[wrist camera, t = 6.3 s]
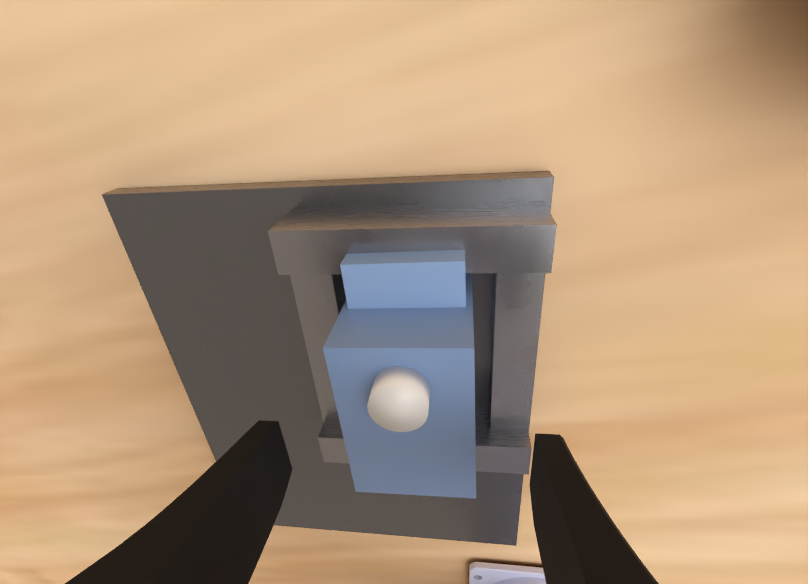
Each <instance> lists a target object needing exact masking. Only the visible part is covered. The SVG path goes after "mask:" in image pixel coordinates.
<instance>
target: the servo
mask: <svg viewBox="0 0 808 584" xmlns="http://www.w3.org/2000/svg"><path fill="white" fill-rule="evenodd" d="M340 267H341V273H342V278H343V284H344V289H345V295H346V301H345V303H344V305H343V307H342V310H341V312H340V314H339V316H338V318H337V320H336V322H335V324H334V326H333V328H332V330H331V332H330V334H329V336H328V338H327V341H326V343H325V345H324V347H323V351H324V355H325V360H326V364H327V368H328V373H329V377H330V381H331V386H332V390H333V395H334V399H335V403H336V408H337V412H338V416H339V421H340V425H341V429H342V434H343V438H344V443H345V447H346V451H347V456H348V460H349V464H350V469H351V473H352V478H353V482H354V486H355V491H356V492H369V493H387V494H404V495H422V496H440V497H457V498H475V499H476V444H475V362H474V324H473V295H472V273H465V250H439V251H410V252H380V253H350V254H346V256H345V257H344V259H343V261H342V262H341V264H340Z"/></svg>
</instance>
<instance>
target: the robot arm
mask: <svg viewBox="0 0 808 584" xmlns="http://www.w3.org/2000/svg"><path fill="white" fill-rule="evenodd" d="M291 473H292V465H291V462H290V459H289V455H288V452H287V448H286V445H285V442H284V438H283V435H282V431H281V428H280V425H279V421H263V420H259V421H258V422H257V423H256V424H254V425H253V426H252V427H251V428H250V429H249V430H248V431H247V432H246V433H245V434H244V435H243V436H242V437H241V438H240V439H239V440H238V441H237V442H236V443H235V444H234V445H233V446H232V447H231V448H230V449H229V450H228V451H227V452H226V453H225V454H224V455H223V456H222V457H221V458H220V459H219V460H217V461H216V462H215V463H214V464H213V465H212V466H211V467H210V468H209V469H208V470H207V471H206V472H205V473H204V474H203V475H202V476H201V477H200V478H199V479H197V480H196V481H195V482H194V483H193V484H192V485H191V486H190V487H189V488H188V489H187V490H185V491H184V492H183V493H182V494H181V495H180V496H179V497H177V498H176V499H175V500H174V501H173V502H172V503H171V504H170V505H168V506H167V507H166V508H165V509H164V510H163V511H162V512H160V513H159V514H158V515H157V516H156V517H154V518H153V519H152V520H151V521H150V522H148V523H147V524H146V525H145V526H143V527H142V528H141V529H140V530H138V531H137V532H136V533H134V534H133V535H132V536H131V537H129V538H128V539H127V540H125V541H124V542H123V543H122V544H120V545H119V546H118V547H116V548H115V549H114V550H112V551H111V552H109V553H108V554H107V555H105V556H104V557H102V558H101V559H99V560H98V561H97V562H95V563H94V564H92V565H91V566H89V567H88V568H87V569H85V570H84V571H82V572H81V573H80V574H78V575H77V576H75V577H74V578H72V579H71V580H70V581H68V582H67V583H65V584H248V583H249V581H250V579H251V576H252V574H253V572H254V569H255V567H256V565H257V562H258V560H259V558H260V555H261V553H262V551H263V548H264V546H265V544H266V541H267V539H268V537H269V535H270V532H271V530H272V527H273V525H274V523H275V520H276V518H277V516H278V513H279V511H280V508H281V506H282V503H283V500H284V497H285V493H286V490H287V487H288V483H289V480H290V476H291ZM530 492H531V502H532V511H533V520H534V527H535V532H536V537H537V542H538V547H539V551H540V556H541V561H542V566H543V568H541V567H530V566H519V565H508V564H497V563H486V562H472V563H471V564H470V566H469V584H658V582H657V581H656V580H655V579H654V577H653V576H652V575H651V573H650V572H649V571H648V569H647V568H646V567H645V566H644V564H643V563H642V562H641V560H640V559H639V558H638V556H637V555H636V553H635V552H634V551H633V549H632V548H631V547H630V545H629V544H628V542H627V541H626V540H625V538H624V537H623V535H622V534H621V533H620V531H619V530H618V528H617V527H616V525H615V524H614V522H613V521H612V520H611V518H610V516H609V515H608V513H607V512H606V510H605V509H604V507H603V506H602V504H601V503H600V501H599V500H598V498H597V497H596V495H595V493H594V492H593V490H592V489H591V487H590V485H589V484H588V482H587V480H586V479H585V477H584V475H583V474H582V472H581V470H580V469H579V467H578V465H577V463H576V461H575V460H574V458H573V456H572V454H571V452H570V450H569V449H568V447H567V445H566V443H565V441H564V439H563V437H561V436H560V435H555V434H535V442H534V451H533V460H532V469H531V477H530Z"/></svg>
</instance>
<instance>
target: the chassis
mask: <svg viewBox="0 0 808 584" xmlns="http://www.w3.org/2000/svg"><path fill="white" fill-rule="evenodd" d="M553 182H554V176H553V175H552V174H551V172H550V171H536V172H512V173H487V174H463V175H438V176H414V177H389V178H365V179H340V180H316V181H291V182H267V183H242V184H218V185H193V186H169V187H144V188H120V189H115V190H113V191H110V192H107V193H105V194H102V196H103V198H104V201H105V203H106V205H107V208H108V210H109V212H110V215H111V217H112V219H113V222H114V224H115V226H116V229H117V231H118V233H119V236H120V238H121V240H122V243H123V245H124V247H125V250H126V252H127V254H128V257H129V259H130V261H131V264H132V266H133V268H134V271H135V273H136V275H137V278H138V280H139V282H140V285H141V287H142V289H143V292H144V294H145V296H146V299H147V301H148V303H149V306H150V308H151V310H152V313H153V315H154V317H155V320H156V322H157V324H158V327H159V329H160V331H161V334H162V336H163V338H164V341H165V343H166V345H167V348H168V350H169V352H170V355H171V357H172V359H173V362H174V364H175V366H176V369H177V371H178V373H179V376H180V378H181V380H182V383H183V385H184V387H185V390H186V392H187V394H188V397H189V399H190V401H191V404H192V406H193V408H194V411H195V413H196V415H197V418H198V420H199V422H200V425H201V427H202V429H203V432H204V434H205V436H206V439H207V441H208V443H209V446H210V448H211V450H212V453H213V455H214V457H215V460H216V461H217V460H219V459H220V458H221V457H222V456H223V455H224V454H225V453H226V452H227V451H228V450H229V449H230V448H231V447H232V446H233V445H234V444H235V443H236V442H237V441H238V440H239V439H240V438H241V437H242V436H243V435H244V434H245V433H246V432H247V431H248V430H249V429H250V428H251V427H252V426H253V425H254V424H256V423H257V422H258V421H259V420H263V421H279V425H280V428H281V431H282V435H283V438H284V442H285V445H286V448H287V452H288V455H289V459H290V462H291V465H292V473H291V476H290V480H289V483H288V487H287V490H286V493H285V497H284V500H283V503H282V506H281V508H280V511H279V513H278V516H277V518H276V520H275V523H274V525H279V526H291V527H303V528H314V529H326V530H338V531H350V532H362V533H374V534H386V535H397V536H409V537H421V538H433V539H445V540H457V541H469V542H481V543H492V544H504V545H516V542H517V532H518V522H519V512H520V503H521V493H522V483H523V474H529V466H530V457H531V443H530V437H529V424H530V415H531V405H532V395H533V386H534V376H535V367H536V357H537V347H538V338H539V328H540V319H541V309H542V300H543V290H544V280H545V273H551V269H552V260H553V251H554V242H555V234H556V223H555V221H554V219H553V217H552V215H551V214H550V211H551V201H552V191H553ZM439 250H465V273H472V295H473V324H474V362H475V444H476V499H475V498H457V497H440V496H422V495H404V494H387V493H369V492H356V491H355V486H354V482H353V478H352V473H351V469H350V464H349V460H348V456H347V451H346V447H345V443H344V438H343V434H342V429H341V425H340V421H339V416H338V412H337V408H336V403H335V399H334V395H333V390H332V386H331V381H330V377H329V373H328V368H327V364H326V360H325V355H324V351H323V347H324V345H325V343H326V341H327V338H328V336H329V334H330V332H331V330H332V328H333V326H334V324H335V322H336V320H337V318H338V316H339V314H340V312H341V310H342V307H343V305H344V303H345V301H346V295H345V289H344V284H343V278H342V273H341V267H340V264H341V262H342V261H343V259H344V257H345V256H346V254H350V253H380V252H410V251H439Z"/></svg>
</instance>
